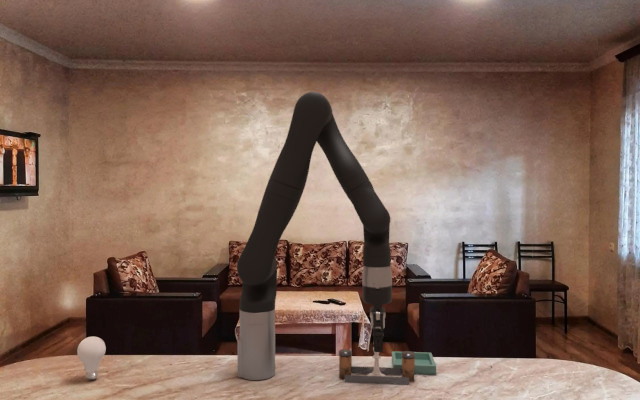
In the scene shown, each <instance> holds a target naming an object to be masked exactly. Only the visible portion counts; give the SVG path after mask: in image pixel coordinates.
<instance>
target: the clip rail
mask: <svg viewBox="0 0 640 400" xmlns="http://www.w3.org/2000/svg"><path fill="white" fill-rule="evenodd" d="M401 352H402V368H393V367H389V366H388V367H385V366H384V367H383V366H379V368H380V372H381V373H382V374H384V375H385V376H367V375H368V374H370V373H372V372H373V370H374V366H357V365H356V366H355V365H352V364H353V363H352V361H353V358H352V357H353V350H351V349H347V348H344V349H340V350H338V358H339V359H338V365H339V366H338V378H339V379H340V380H343V381H344V383H349V384H350V383H351V384H352V383H353V384H375V385H377V384H380V385H382V384H383V385H401V386H403V385H404V386H405V385H406V386H408V385H410V383H413V382H415V375H416V374H415V353H414V352H415V351H409V350H404V351H401Z"/></svg>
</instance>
